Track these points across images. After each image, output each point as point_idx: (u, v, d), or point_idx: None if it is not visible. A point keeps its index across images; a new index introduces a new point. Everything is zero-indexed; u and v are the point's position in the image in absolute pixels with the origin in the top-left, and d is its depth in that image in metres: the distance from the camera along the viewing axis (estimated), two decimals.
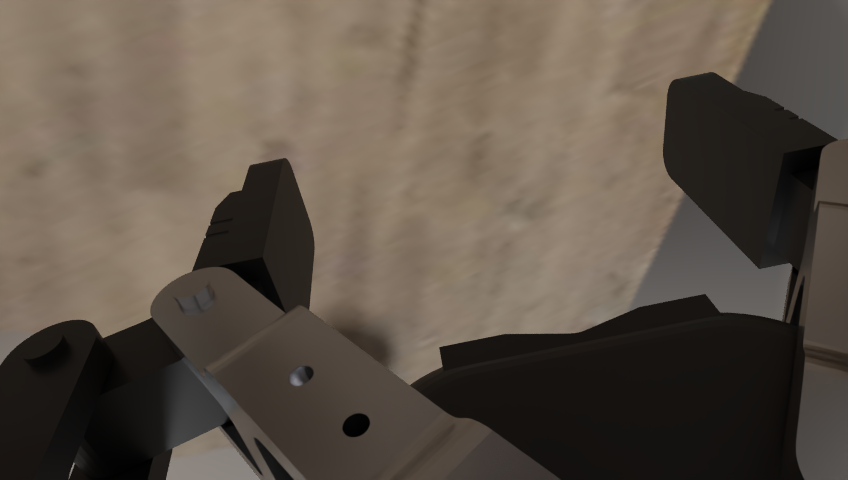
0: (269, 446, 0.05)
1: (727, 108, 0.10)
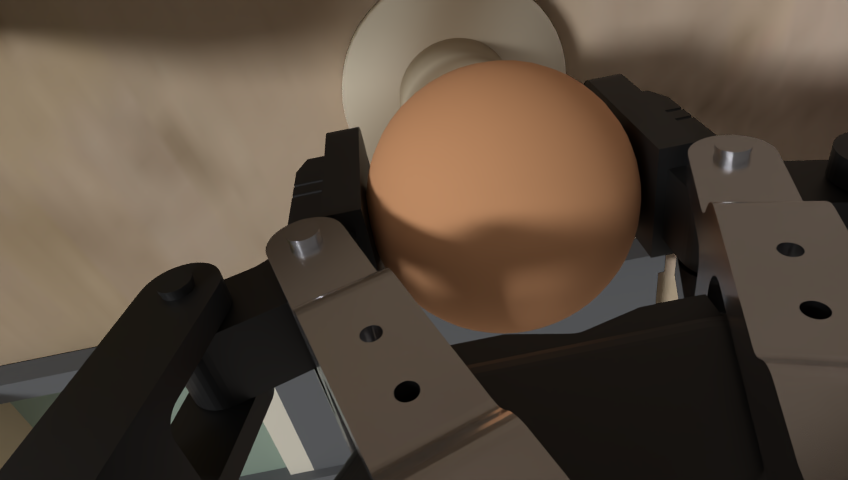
0: (331, 391, 0.06)
1: (622, 108, 0.11)
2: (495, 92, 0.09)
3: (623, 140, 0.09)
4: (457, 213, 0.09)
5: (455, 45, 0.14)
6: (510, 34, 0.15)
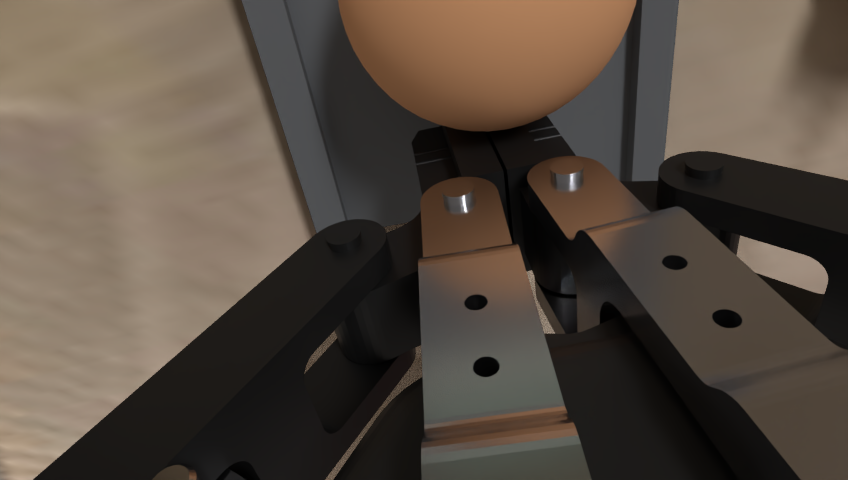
0: None
1: None
2: None
3: None
4: None
5: None
6: None
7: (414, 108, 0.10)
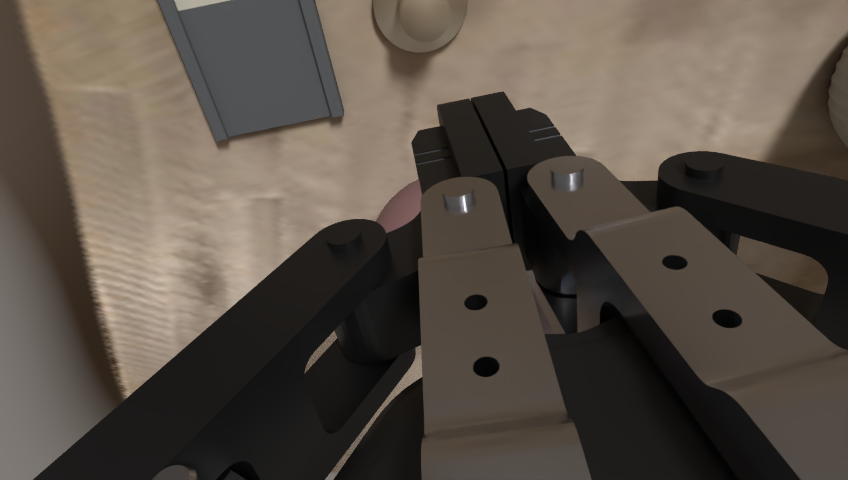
0: None
1: (491, 127, 0.11)
2: None
3: None
4: None
5: None
6: None
7: None
